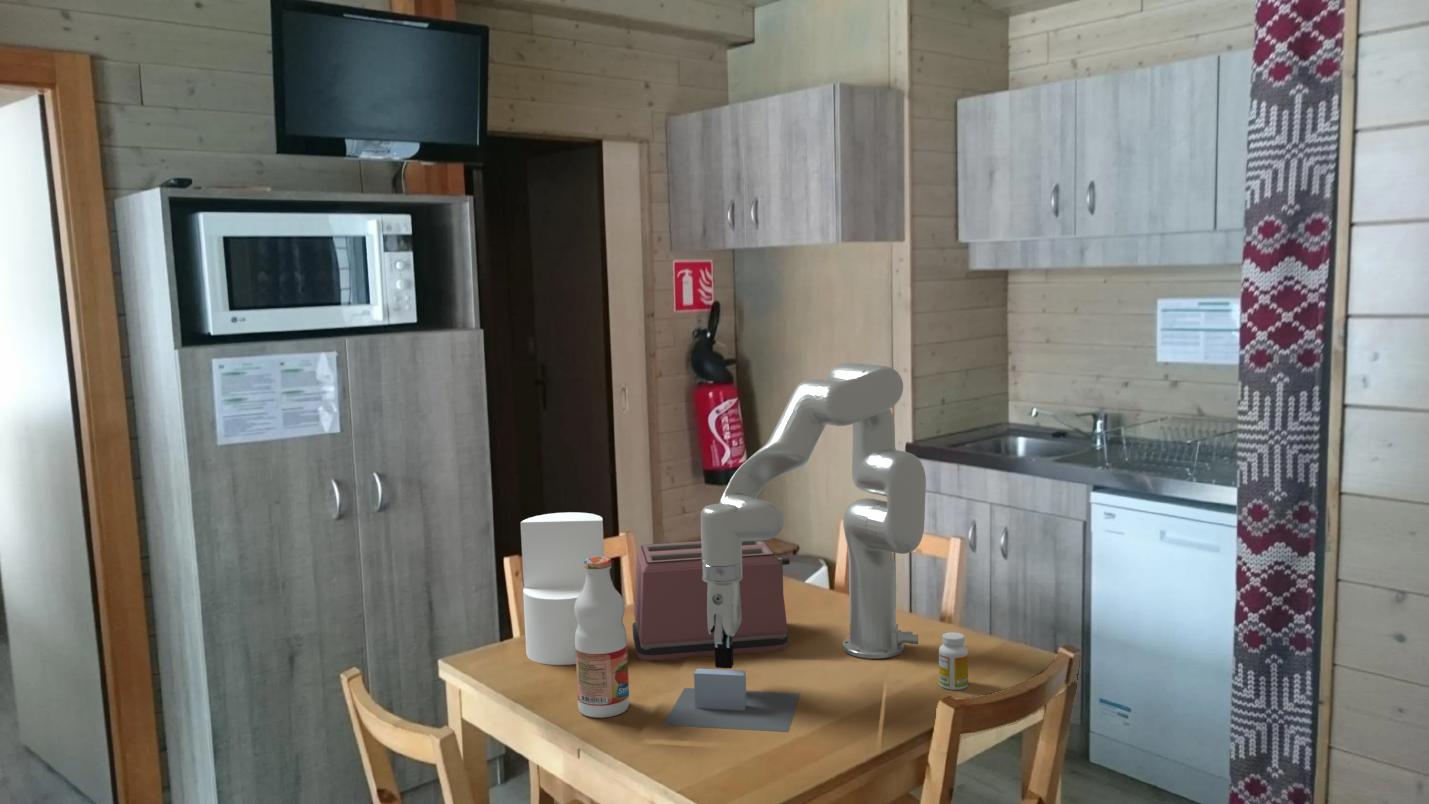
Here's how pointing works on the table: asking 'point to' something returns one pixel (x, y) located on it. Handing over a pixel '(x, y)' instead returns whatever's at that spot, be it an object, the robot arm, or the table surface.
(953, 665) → the supplement bottle
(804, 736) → the table surface
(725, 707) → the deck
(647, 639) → the toaster
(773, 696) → the mat
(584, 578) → the cylinder
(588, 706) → the fruit juice
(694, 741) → the table surface
